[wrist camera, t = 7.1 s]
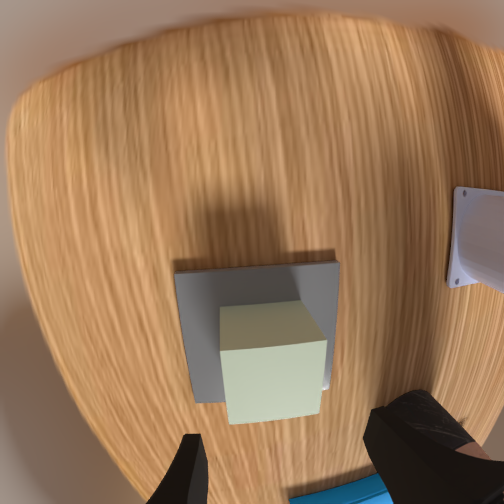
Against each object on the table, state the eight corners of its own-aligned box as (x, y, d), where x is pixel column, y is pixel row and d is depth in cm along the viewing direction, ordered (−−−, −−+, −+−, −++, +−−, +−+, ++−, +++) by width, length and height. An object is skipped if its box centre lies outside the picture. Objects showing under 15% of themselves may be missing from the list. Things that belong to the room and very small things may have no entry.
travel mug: (379, 397, 22) (492, 567, 2) (441, 379, 23) (556, 503, 3) (360, 448, 24) (433, 594, 4) (418, 430, 24) (501, 548, 5)
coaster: (336, 260, 18) (339, 262, 18) (326, 384, 21) (329, 389, 20) (175, 271, 17) (174, 274, 17) (195, 398, 20) (195, 403, 19)
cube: (301, 300, 18) (327, 339, 13) (299, 365, 19) (319, 413, 14) (219, 306, 18) (219, 350, 13) (226, 372, 19) (229, 424, 14)
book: (439, 496, 27) (299, 552, 25) (429, 481, 31) (294, 532, 30) (473, 443, 23) (292, 522, 21) (458, 426, 27) (285, 495, 25)
